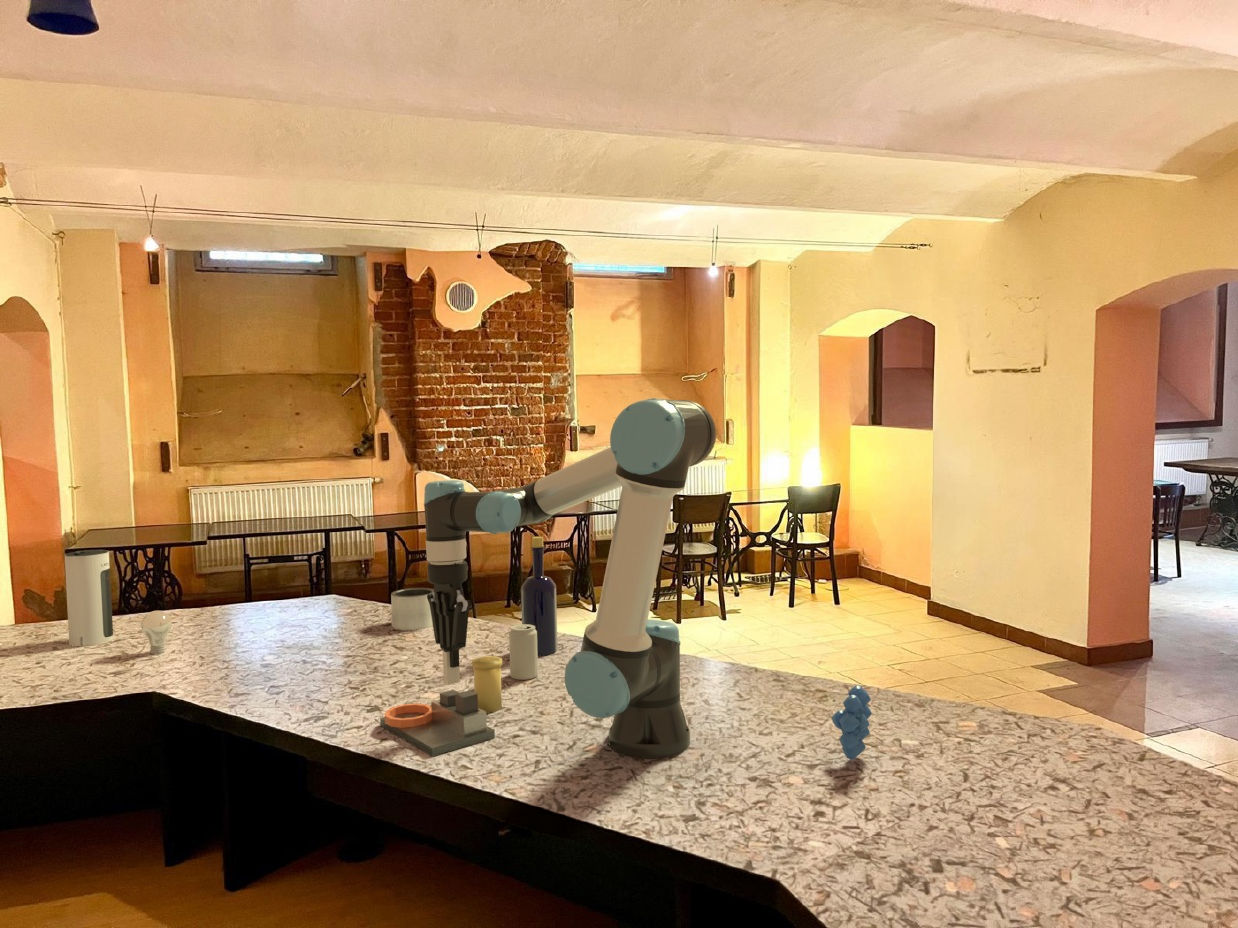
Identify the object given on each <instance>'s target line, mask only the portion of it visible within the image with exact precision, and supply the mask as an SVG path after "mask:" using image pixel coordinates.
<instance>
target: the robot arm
mask: <svg viewBox="0 0 1238 928" xmlns="http://www.w3.org/2000/svg"><path fill="white" fill-rule="evenodd" d="M609 435H610V438H609V442H610V443H609V444H610V445H609V446H610V447H607V448H605V449H602V450H601V451H599V452H596V453H594V454H592V455H590V456H588V457H585V458H583V459H581V460H578V461H576V462H575V463H572V464H570V465H568V466H565V467H562V468H561V469H559V470H556V471H554V472H552V473H550V474H548V475H545V476H542V477H541V478H539V479H536V480H534V481H532V482H530V483H527V484H526V485H523V486H520V487H514V488H506V489H499V490H488V491H467V490H465V486H464V482H463V481H461V480H435V481H429V482H428V483H426V484H425V486H424V496H423V498H424V499H423V507H424V518H425V519H424V521H425V548H426V549H425V552H426V561H427V562H428V563H427V567H426V572H427V573H426V574H427V582H428V583H429V584H431V585H433V589H434V592H433V593H432V594H428V595H427V599H428V602H429V605H430V610H431V616H432V623H433V626H432V628H433V634H434V635H433V636H434V642H435V644H436V645H439V647H440V649H441V650H442V669H443V671H442V672H443V684H444V685H446V686H449V685H454V684H456V683H457V684H458V683H460V682H461V675H460V674H461V673H460V670H461V669H460V650H461V649H463V648H466V647H467V634H468V623H469V613H470V610H471V607H472V601H471V600H470V599H468V600H466V599H465V597H464V589H463V585H462V584H463V583H464V582H466V581H467V580H468V562H467V561H466V560H465V559H466V558H467V546H468V545H467V541H466V540H467V539H466V538H467V536H466V535H467V532H472V533H473V532H475V533H489V534H491V535H492V534H493V535H494V534H495V535H496V534H501V533H503V534H505V533H506V534H507V533H510V532H513V530H515V528H517V527H521V526H528V525H536V524H540V523H543V522H545V521H547V520H549V519H551V518H552V517H553V516H554V515H556V514H558V513H560V512H563V511H565V510H567V509H570V508H573V507H575V506H577V505H579V504H582V503H585V502H587V501H589V500H592V499H595V498H597V497H599V496H601V495H604V494H606V493H608V492H611V491H613V490H616V489H618V488H620V487H621V489H620V491H621V492H620V496H619V501H618V506H617V510H616V511H617V512H616V516H615V517H616V518H615V521H614V525H613V526H614V527H613V532H612V537H611V543H610V548H609V551H608V552H609V553H608V557H607V563H606V567H605V571H604V572H605V573H604V577H603V582H602V588H601V592H600V597H599V603H598V608H597V613H596V619H595V620H594V621H592V622H590V623H588V624H587V625H586V626H585V628H584V633H583V638H582V643H581V648H580V651H578V652H577V653H575V654H574V655H573V656H572V657H571V658H570V659H569V660H568V662H567V663H566V666H565V670H564V685H565V688H566V691H567V693H568V696H569V697H571V699H572V702H573V703H574V705H575V706H576V707H577V708H578V709H579V710H580V711H581V712H583V713H585V714H586V715H588V716H590V717H593V718H596V719H607V718H610V717H613V720H612V724H611V725H610V728H609V730H608V745H609V748H610V749H612V751H614V752H616V753H617V754H619V755H621V756H624V757H629V758H632V759H641V760H642V759H643V760H654V759H655V760H659V759H665V758H671V757H673V756H674V757H675V756H677V755H679V754H681V753H684V752H685V751H687V749H689V747H690V745H691V731H690V728H689V726H688V725H687V720H686V717H685V714H684V713H685V712H684V710H683V707H682V705H681V704H682V703H681V668H680V667H681V641H680V631H679V630H680V629H679V628H678V626H677V625H676V624H674V623H673V622H669V621H665V620H657V619H649V615H650V610H651V605H652V601H653V600H652V599H653V595H654V590H655V585H656V582H657V581H656V580H657V577H658V571H659V567H660V562H661V557H662V553H663V547H664V541H665V538H666V531H667V528H668V523H669V518H670V514H671V508H672V504H673V500H674V496H675V495H676V494H679V493H680V492H682V491H683V490H684V489H685V486H686V482H687V479H688V473H689V468H690V467H693V466H696V465H698V464H700V463H702V462H703V461H705V459H707V458H708V457H709V456H710V454H711V453H712V450H713V449H714V447H715V445H716V440H717V429H716V423H715V421H714V419H713V417H712V415H711V414H710V412H709V411H708V410H707V409H706V408H705V407H704V406H702V405H701V404H699V403H697V402H695V401H692V400H688V399H667V398H666V399H665V398H664V399H663V398H662V399H661V398H654V397H653V398H648V399H644V400H639V401H636V402H632V403H631V404H629V405H628V406H626V407H625V408H623V409H622V411H620V413H618V415H617V416H616V418H615V419H614V422H613V424H612V428H611V430H610V434H609Z"/></svg>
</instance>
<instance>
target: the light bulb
mask: <svg viewBox="0 0 1238 928" xmlns="http://www.w3.org/2000/svg"><path fill="white" fill-rule="evenodd" d="M172 624H173V622H172V619H171V617H170V615H169V613H167V612H164V611H163V610H153V611H150V612H149V613H147V614H145V616H143V618H142V620H141V624H140V629H141V631H142V634H143V635H144V636H145V637H146V639H147V641H148V644H149V646H150V647H149V648H150V654H151V655H153V654H157V655H162V654H163V653H165V651H166V645H165V644H166V640H167V636H168V634H169V632H170V631H171V629H172ZM161 653H162V654H161Z"/></svg>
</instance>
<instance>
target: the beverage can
mask: <svg viewBox="0 0 1238 928" xmlns="http://www.w3.org/2000/svg"><path fill="white" fill-rule="evenodd" d="M508 636H509V637H508V642H509V643H508V644H509V648H508V649H509V676H510V678H512V679H514V680H516V681H527V680H531V679H534V678H536V677H538V675H539V666H538V665H539V659H538V658H539V656H538V654H537V631H536V630H535V626H534V625H529V624H522V623H521V624H515V625H512V626H510V631H508Z"/></svg>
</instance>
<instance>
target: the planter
mask: <svg viewBox="0 0 1238 928" xmlns="http://www.w3.org/2000/svg"><path fill="white" fill-rule="evenodd" d="M433 592H434V588H429V587H427V588H426V587H409V588H403V589H398V590H395V591H392V592H391V594H390V598H391V599H390V601H391V602H390V603H391V628H392V627H394V628H395V629H394V628H393V629H394V630H397V629H401V630H400V631H418V629H420V630H425V629H429V628H433V623H432V616H431V610H430V605H429V602H428V599H427V595H428V594H432V593H433ZM416 629H417V630H416Z"/></svg>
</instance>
